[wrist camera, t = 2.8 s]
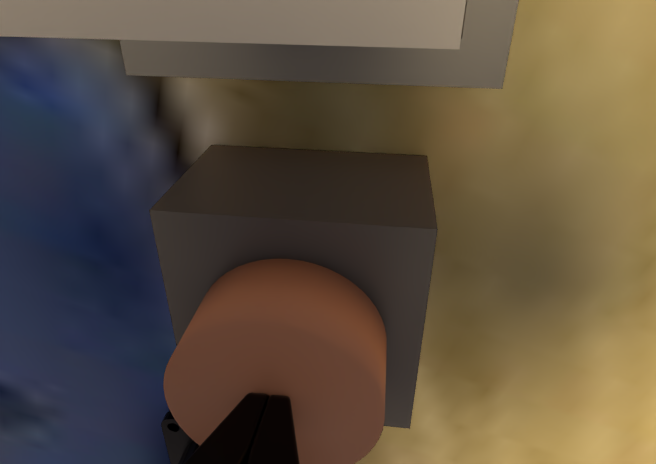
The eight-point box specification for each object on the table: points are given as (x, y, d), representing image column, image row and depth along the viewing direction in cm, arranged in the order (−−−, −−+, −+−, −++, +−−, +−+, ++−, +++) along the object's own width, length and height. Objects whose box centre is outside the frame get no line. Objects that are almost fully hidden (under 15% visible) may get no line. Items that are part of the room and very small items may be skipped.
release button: (383, 340, 14) (377, 488, 10) (238, 327, 15) (180, 464, 11) (394, 208, 12) (393, 333, 8) (224, 198, 13) (145, 311, 9)
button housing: (406, 326, 16) (409, 428, 13) (231, 311, 17) (188, 404, 13) (426, 155, 13) (437, 229, 10) (211, 144, 14) (149, 210, 10)
